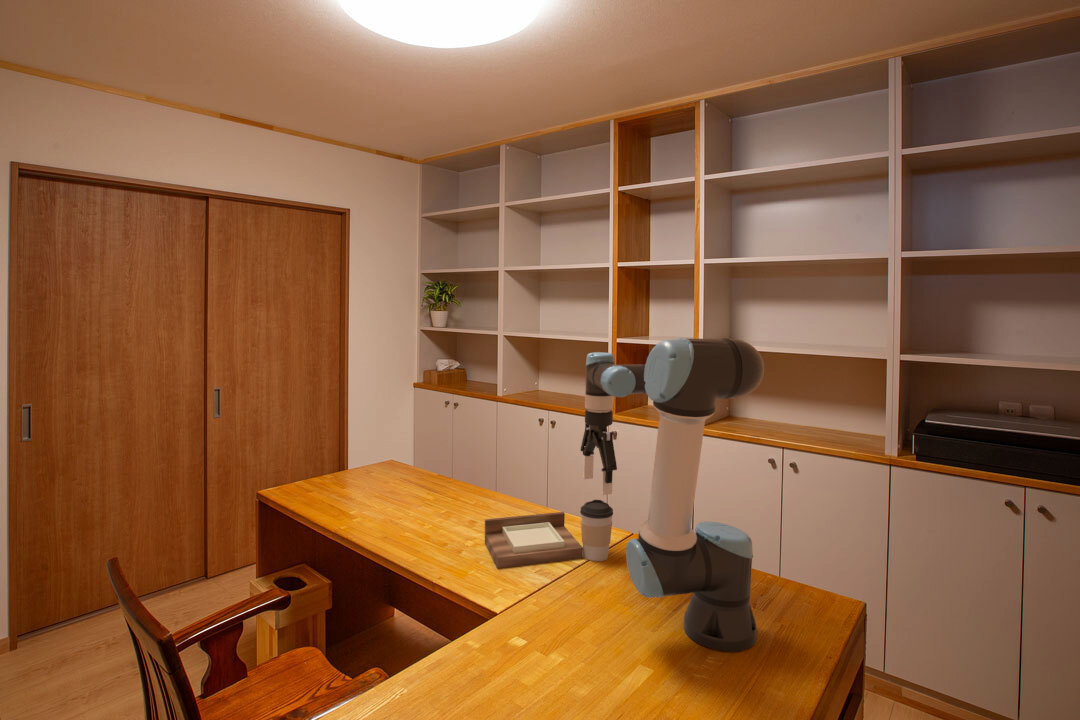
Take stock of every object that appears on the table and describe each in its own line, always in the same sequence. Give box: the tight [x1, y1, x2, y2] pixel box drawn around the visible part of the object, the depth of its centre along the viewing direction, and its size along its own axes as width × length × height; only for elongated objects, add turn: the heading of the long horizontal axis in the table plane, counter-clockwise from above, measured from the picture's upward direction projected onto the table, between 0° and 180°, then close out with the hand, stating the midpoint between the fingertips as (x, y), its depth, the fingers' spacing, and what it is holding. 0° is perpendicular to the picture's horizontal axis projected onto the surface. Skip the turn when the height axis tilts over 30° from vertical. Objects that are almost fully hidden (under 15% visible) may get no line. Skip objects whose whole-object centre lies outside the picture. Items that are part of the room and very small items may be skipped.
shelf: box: [484, 511, 584, 569], centre depth 169 cm, size 17×24×7 cm
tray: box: [502, 522, 564, 553], centre depth 169 cm, size 14×14×2 cm
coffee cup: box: [579, 499, 614, 562], centre depth 165 cm, size 9×9×15 cm
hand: (597, 486), depth 164 cm, fingers open, 13 cm apart
